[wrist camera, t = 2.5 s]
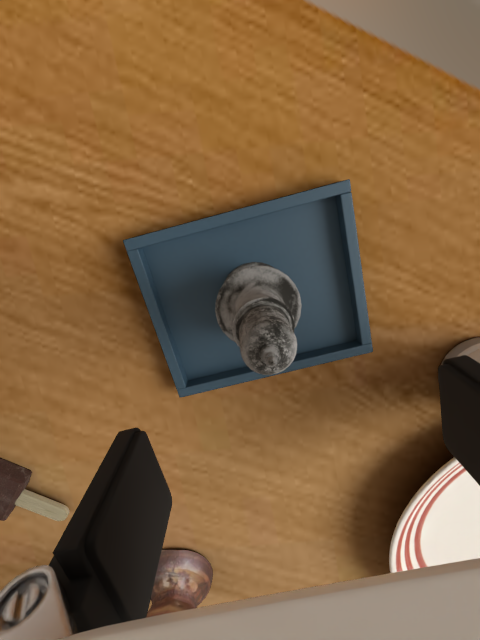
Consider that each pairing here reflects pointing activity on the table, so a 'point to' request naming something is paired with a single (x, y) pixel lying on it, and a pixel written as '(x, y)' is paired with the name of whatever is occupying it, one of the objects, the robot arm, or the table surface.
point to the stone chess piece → (260, 316)
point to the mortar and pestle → (180, 582)
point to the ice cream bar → (24, 494)
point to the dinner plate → (439, 522)
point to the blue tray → (245, 247)
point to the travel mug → (466, 350)
